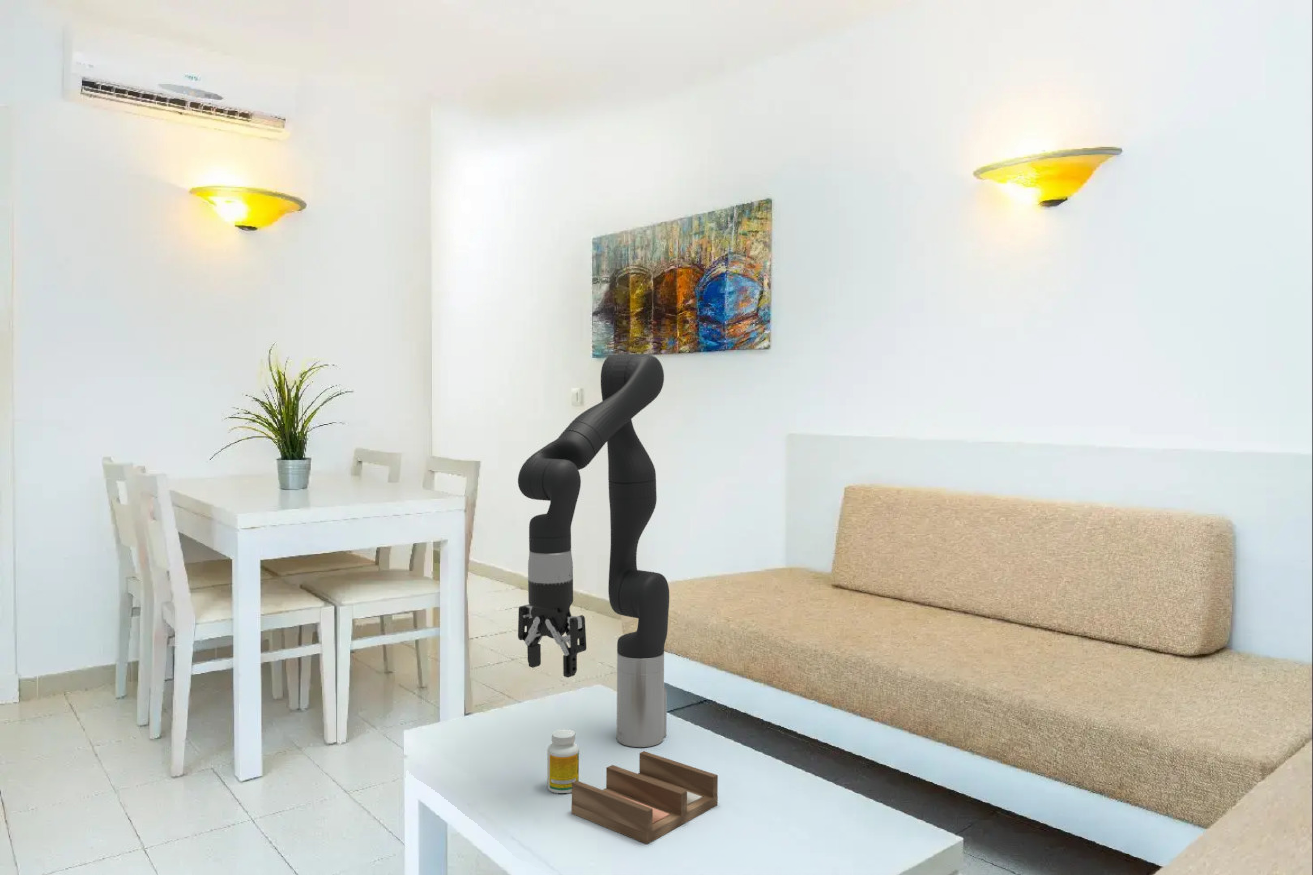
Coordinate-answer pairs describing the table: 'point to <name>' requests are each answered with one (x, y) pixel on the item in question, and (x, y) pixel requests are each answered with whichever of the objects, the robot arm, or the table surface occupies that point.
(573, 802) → the brown shelf rack
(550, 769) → the supplement bottle
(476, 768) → the table surface
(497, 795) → the table surface
